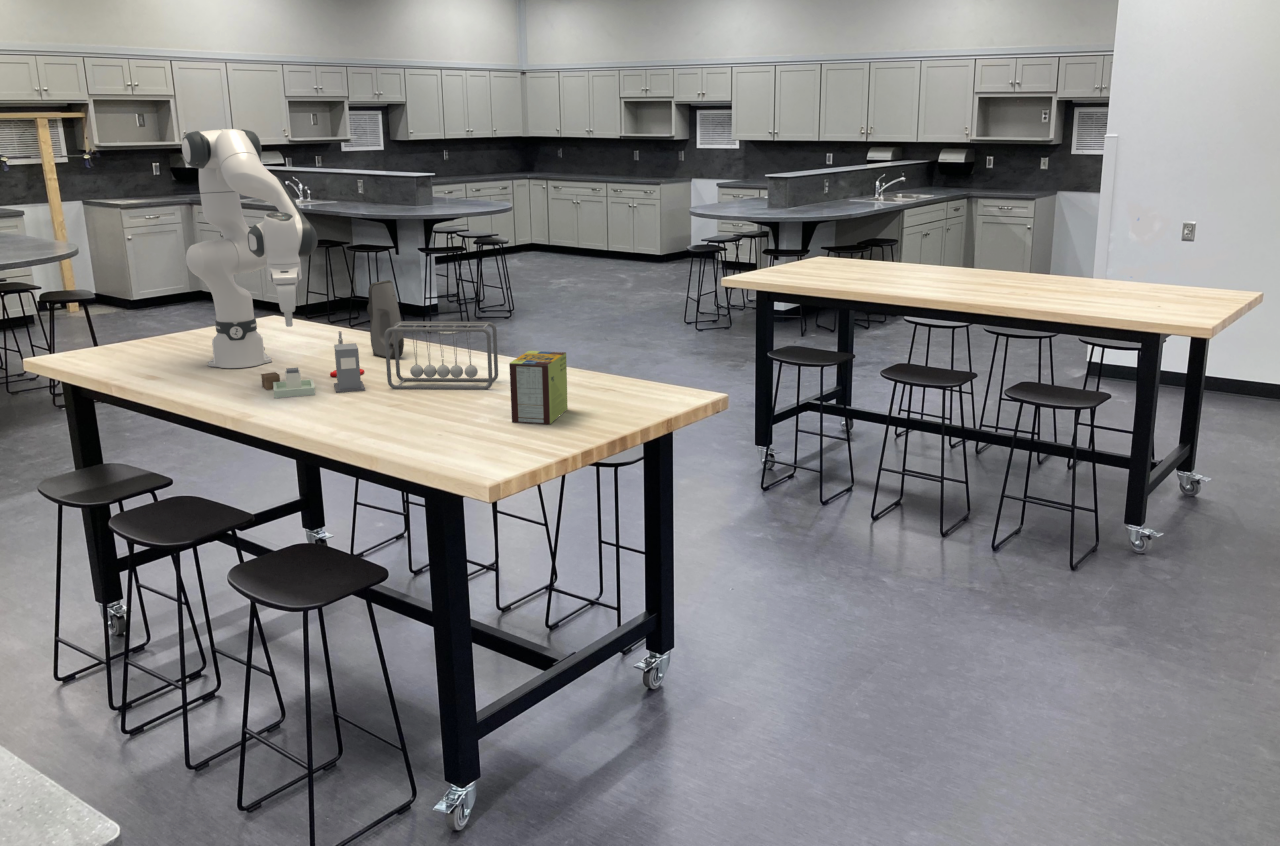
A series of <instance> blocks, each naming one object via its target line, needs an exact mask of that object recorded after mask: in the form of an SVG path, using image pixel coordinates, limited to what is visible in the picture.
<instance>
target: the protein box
mask: <svg viewBox="0 0 1280 846" xmlns="http://www.w3.org/2000/svg"><path fill="white" fill-rule="evenodd" d="M567 370H568V369H567V352H564V351H543V350H541V351H540V350H527V351H526V352H524V353H523V354H521V355H519V356H518V357H517V358H516V359H513V360H512V361H510V362H509V384H510V408H511V423H516V424H517V423H518V424H519V423H520V424H533V423H536V424H535V425H537V424H538V425H551V424H552V423H554V422H555V421H556V420H557V419H558V418H559V417H560V416H559V415H561V414H562V413H563V412H564V411H565V410H566V411H567V410H568V408H569V407H568V374H567V372H568V371H567ZM566 411H565V412H566ZM565 412H564V413H565ZM564 413H563V414H564ZM563 414H562V415H563ZM562 415H561V416H562ZM558 416H559V417H558ZM557 417H558V418H557ZM556 418H557V419H556ZM555 419H556V420H555ZM554 420H555V421H554ZM553 421H554V422H553Z"/></svg>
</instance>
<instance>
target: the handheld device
mask: <svg viewBox="0 0 1280 846" xmlns="http://www.w3.org/2000/svg"><path fill="white" fill-rule="evenodd" d="M366 311H367V314H368V316H369V321H370V323H369V324H370V329H369V333H370V345H371V349H372V354H373V356H374V355H375V356H378V357H381V358H385V357H386V352H385V337H384V335H385V331H386V330H387V329H388V328H392V327H394V325H395V324H396V323H397V322H402V318H401V313H400V308H399V302H398V299H397V293H396V290H395V287H394V282H393V281H392V280H388V279H387V280H381V281H376V282H372V283H370V284H369V287H368V304H367V306H366ZM398 328H403V325H401V326H398ZM397 333H398V348H399V358H401V356H402V355H403V352H404V347H405V338H404V337H405V336H404V332H397ZM388 336H389V350H390V360H391V359H395V347H394V332H393V331H392V332H390V333H389V335H388Z"/></svg>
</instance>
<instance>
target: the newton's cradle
mask: <svg viewBox="0 0 1280 846" xmlns="http://www.w3.org/2000/svg"><path fill="white" fill-rule="evenodd" d="M401 325H402V326H413V327H402V328H398V326H401ZM417 326H419V327H417ZM420 326H421V327H420ZM422 326H424V327H422ZM425 326H426V327H425ZM433 326H434V327H433ZM435 326H437V327H435ZM438 326H439V327H438ZM444 326H446V327H444ZM447 326H448V327H447ZM450 326H451V327H450ZM452 326H453V327H452ZM458 326H459V327H458ZM461 326H462V327H461ZM471 326H472V327H471ZM486 327H490V328H491V329H492V336H491V333H490V331H489V330H488V328H486ZM392 331H393V332H394V347H395V358H394V359H395V360H394V361H395V373H396V377H397V379H398V380H399V381H400V382H399V383H398V384H397V385H396V384H394V383H393V382H392V367H391V359H390V350H389V336H388V335H389V333H390V332H392ZM397 332H403V333H404V332H409V333H412V334H411V335H412V336H414V332H415V339H414V338H412V341H413V342H412V343H413V345H415V346H416V350H415V347H413V351H414V353H415V355H414V358H415V364H413V365H411V367H410V375H411V376H412V377H403V376H402V375H401V364H400V357H399V348H398V333H397ZM418 332H419V333H421V332H422V333H423V332H424V333H427V332H428V333H429V337H428V338H429V341H428V338H427V335H425V340H426V342H429V346H428V344H426V348H427V349H426V350H427V351H429V347H431V333H432V332H433V333H435V332H437V333H438V335H439V338H441V333H444V332H446V333H448V332H449V333H450V332H451V333H465V334H466V336H465V337H468V333H469V337H471V333H484V334H485V335H486V353H487V355H486V356H487V372H488V373H487V375H488V376H487V377H488V378H487V377H486V378H484V377H482V378H481V377H476V376H477V375H478V371H479V370H478V368H477V366H475V365H473V364H472V357H471V356H472V353H471V351H472V350H471V346H467V350H468V353H469V355H468V359H469V360H468V361H469V365H467V366H466V367H465V368H464V370H463V366H461V365H459V364H458V363H457V357H458V356H457V352H458V351H457V345H458V344H457V339H455V338H454V336H452V340H453V341H452V343H453V344H455V346H453V352H454V354H455V357H454V361H455V362H454V363H455V364H454V365H452V366H451V367H450V368H449V366H447V364H446V365H445V364H444V360H441V365H439V366H438V367H437V368H436V366H434V365H432V364H431V362H428V364H427V365H425V366H424V367H423V366H421V365H420V364H418V343H417V342H418V337H417V336H418V335H417V334H418ZM497 333H498V332H497V327H496V325H495V324H494V323H493V322H492V321H401V322H397V323H396V324H395V325H394V327H392V328H388V329H387V330H386V331H385V335H384V337H385V352H386V358H385V362H386V366H385V367H386V378H387V384H388V386H389V387H390V389H393V390H450V391H451V390H453V391H454V390H456V391H458V390H461V391H463V390H464V391H466V390H468V391H469V390H470V391H473V390H474V391H475V390H476V391H478V390H479V391H485V390H489V389H491V387H492V386H493V381H494V382H495V381H496V380H498V378H499V359H498V358H499V357H498V355H499V354H498V338H497V337H498V334H497ZM454 339H455V340H454ZM414 340H415V341H414ZM441 342H442V341H441V340H439V343H440V344H439V346H440V348H442V344H441ZM466 342H467V344H466V345H469V340H468V338H466ZM492 347H493V354H492ZM440 354H441V357H443V350H440ZM492 355H493V358H492ZM427 357H428V359H427V360H430V353H427ZM492 360H493V361H492ZM492 363H493V364H492ZM493 366H494V367H493ZM493 372H494V373H493ZM463 373H464V375H465V376H466V377H464V378H463V377H462V376H463ZM493 374H494V375H493ZM423 375H424V376H425V377H422V376H423ZM436 375H437V376H438V377H435V376H436ZM449 375H450V376H452V377H448V376H449ZM404 382H405V383H406V382H411V383H412V382H415V383H416V382H417V383H418V382H419V383H420V382H421V383H424V382H425V383H426V382H427V383H428V382H430V383H431V382H432V383H433V382H437V383H440V382H441V383H486V384H485V385H414V384H413V385H409V384H407V385H403V384H402V383H404Z"/></svg>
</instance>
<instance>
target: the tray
mask: <svg viewBox="0 0 1280 846" xmlns="http://www.w3.org/2000/svg"><path fill="white" fill-rule="evenodd" d="M301 386H302V388H295V389H287V387H286V380H284V381H283V380H282V381H280V382H273V389H272V390H273V398H274V399H280V398H281V399H282V398H293V397H304V396H316V388H315V383H314V379H313V378H311V379H310V378H309V379H301Z"/></svg>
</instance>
